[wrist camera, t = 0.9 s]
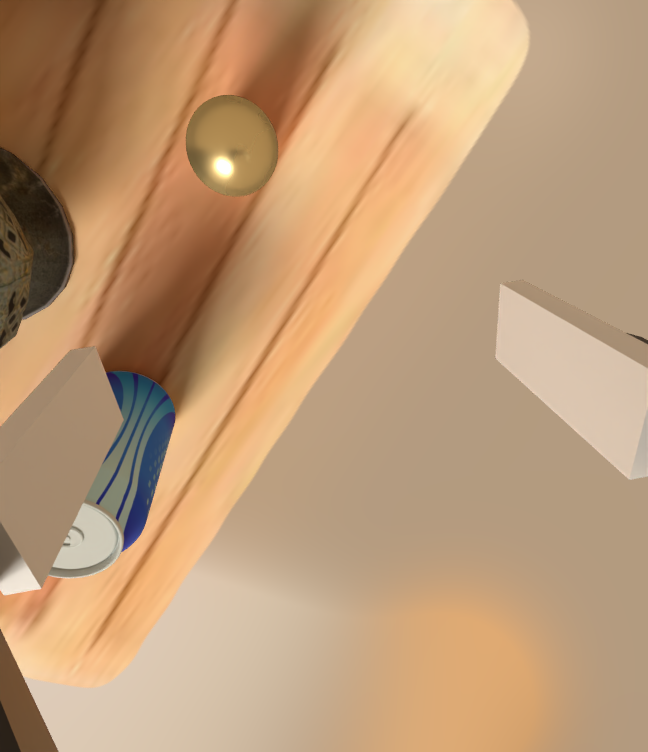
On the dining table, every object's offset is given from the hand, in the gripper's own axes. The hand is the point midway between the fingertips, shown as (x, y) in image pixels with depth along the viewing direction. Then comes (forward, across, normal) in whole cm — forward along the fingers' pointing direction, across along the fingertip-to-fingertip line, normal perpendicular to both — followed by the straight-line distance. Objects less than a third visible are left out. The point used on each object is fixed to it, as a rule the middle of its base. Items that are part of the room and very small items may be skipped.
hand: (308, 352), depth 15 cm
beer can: (+24, -16, -13) cm, 32 cm away
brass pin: (+24, -2, +6) cm, 25 cm away
